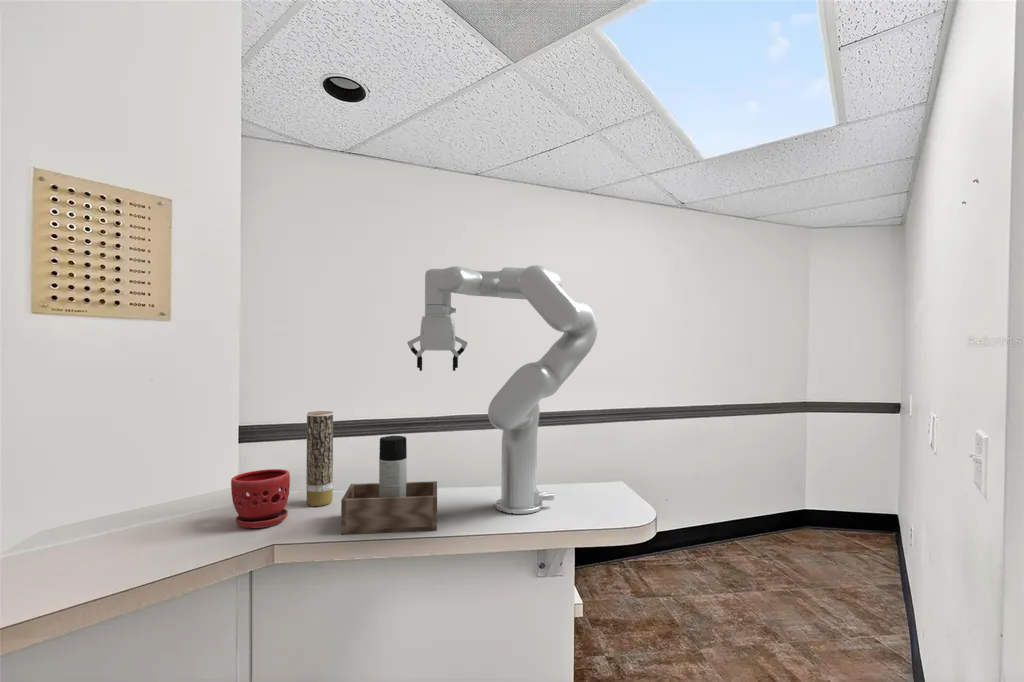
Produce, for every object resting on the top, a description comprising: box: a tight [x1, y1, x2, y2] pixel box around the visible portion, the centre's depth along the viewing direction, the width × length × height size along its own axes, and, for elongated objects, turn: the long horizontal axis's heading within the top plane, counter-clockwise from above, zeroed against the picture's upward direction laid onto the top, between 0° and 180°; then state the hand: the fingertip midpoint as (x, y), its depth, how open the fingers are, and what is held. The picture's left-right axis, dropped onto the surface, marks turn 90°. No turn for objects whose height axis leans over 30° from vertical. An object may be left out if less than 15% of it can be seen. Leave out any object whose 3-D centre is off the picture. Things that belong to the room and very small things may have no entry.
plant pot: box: [230, 468, 291, 529], centre depth 131 cm, size 13×13×12 cm
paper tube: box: [305, 410, 334, 507], centre depth 147 cm, size 7×7×25 cm
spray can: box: [378, 435, 408, 498], centre depth 132 cm, size 7×7×20 cm
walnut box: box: [340, 480, 438, 536], centre depth 132 cm, size 22×14×8 cm, turn 98°
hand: (437, 370), depth 155 cm, fingers open, 9 cm apart
